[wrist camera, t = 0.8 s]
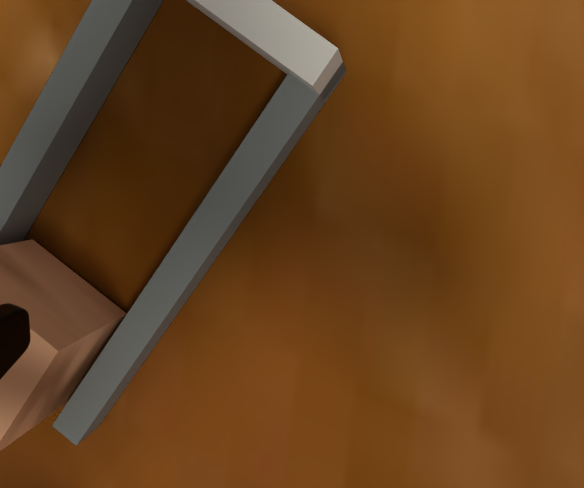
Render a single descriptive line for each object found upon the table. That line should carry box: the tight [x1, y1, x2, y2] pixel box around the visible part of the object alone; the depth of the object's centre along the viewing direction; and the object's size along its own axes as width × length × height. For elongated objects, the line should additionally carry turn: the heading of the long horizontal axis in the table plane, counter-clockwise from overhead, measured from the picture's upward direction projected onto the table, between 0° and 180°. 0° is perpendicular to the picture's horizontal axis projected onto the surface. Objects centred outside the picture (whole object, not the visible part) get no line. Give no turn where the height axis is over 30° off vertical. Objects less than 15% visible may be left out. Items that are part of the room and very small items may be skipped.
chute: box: [0, 0, 346, 446], centre depth 21 cm, size 21×10×4 cm, turn 145°
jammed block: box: [0, 239, 127, 451], centre depth 22 cm, size 6×6×5 cm
